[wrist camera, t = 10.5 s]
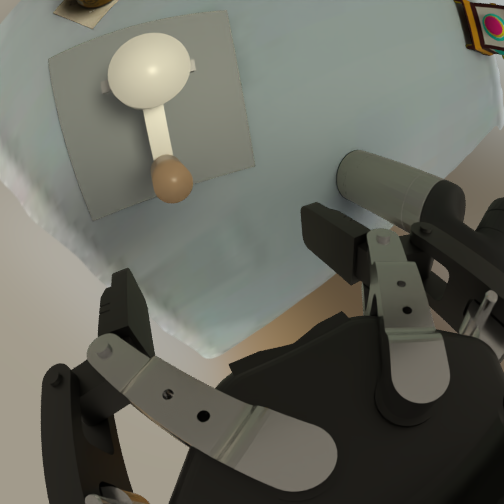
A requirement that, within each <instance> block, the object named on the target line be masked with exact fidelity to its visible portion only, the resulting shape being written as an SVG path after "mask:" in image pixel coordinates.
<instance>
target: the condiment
mask: <svg viewBox="0 0 504 504" xmlns="http://www.w3.org/2000/svg"><path fill="white" fill-rule="evenodd" d="M117 1H118V0H64V1H63V2H62V3H61V4H60V5H59V6H58V7H57V9H56V10H55V11H54V12H53V13H54V14H57V15H59V16H62V17H64V18H67V19H69V20H72V21H74V22H77V23H80V24H82V25H84V26H87V27H89V28H91V29H93V28H94V26H95V25H96V24H97V23H98V22H99V21H100V19H101V18H102V17H103V16H104V15H105V14H106V13H107V11H108V10H109V9H110V8H111V7H112V6H113V5H114V4H115V3H116V2H117ZM93 10H94V11H93ZM90 11H92V12H90Z"/></svg>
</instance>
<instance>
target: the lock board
mask: <svg viewBox="0 0 504 504" xmlns="http://www.w3.org/2000/svg"><path fill="white" fill-rule="evenodd" d="M146 33H163V34H167V35H170V36H172V37H174V38H176V39H177V40H178V41H180V42H181V43H182V44H183V46H184V47H185V48H186V50H187V52H188V54H189V57H190V60H193V59H194V60H195V67H196V71H194V72H192V73H190V74H189V77H188V80H187V82H186V84H185V85H184V87H183V88H182V90H181V91H180V92H179V93H178V94H177V95H176V96H175V97H173V98H172V99H171V100H169V101H168V102H166V103H164V104H163V105H164V111H165V116H166V121H167V127H168V132H169V137H170V142H171V147H172V152H173V156H175V157H176V158H178V159H179V161H180V162H181V163H182V164H183V165H184V166H185V167H186V168H187V169H188V170H189V172H190V173H191V175H192V178H193V184H196V183H199V182H202V181H206V180H209V179H212V178H216V177H219V176H222V175H226V174H229V173H233V172H236V171H240V170H244V169H247V168H251V167H255V161H254V155H253V149H252V143H251V138H250V132H249V126H248V120H247V115H246V109H245V103H244V98H243V92H242V87H241V81H240V76H239V70H238V65H237V60H236V54H235V49H234V44H233V39H232V34H231V28H230V23H229V18H228V13H227V10H224V11H212V12H202V13H194V14H187V15H181V16H175V17H170V18H164V19H160V20H155V21H151V22H146V23H142V24H138V25H135V26H131V27H128V28H124V29H121V30H118V31H114V32H111V33H108V34H105V35H103V36H100V37H97V38H94V39H92V40H89V41H87V42H84V43H82V44H79V45H77V46H74V47H72V48H70V49H68V50H65V51H63V52H61V53H59V54H57V55H55V56H53V57H51V58H49V59H48V62H49V70H50V76H51V82H52V88H53V93H54V98H55V103H56V107H57V112H58V116H59V120H60V124H61V128H62V132H63V136H64V139H65V143H66V146H67V150H68V153H69V156H70V160H71V163H72V166H73V169H74V172H75V175H76V178H77V181H78V183H79V186H80V189H81V192H82V194H83V197H84V200H85V202H86V205H87V207H88V210H89V212H90V215H91V217H92V220H93V221H95V220H98V219H100V218H102V217H105V216H107V215H110V214H112V213H115V212H117V211H120V210H122V209H125V208H127V207H130V206H133V205H135V204H138V203H141V202H143V201H146V200H149V199H152V198H154V197H157V195H156V194H155V191H154V187H153V182H152V177H151V171H150V170H151V166H152V163H153V162H154V160H153V156H152V152H151V147H150V143H149V138H148V133H147V128H146V123H145V118H144V113H143V110H139V109H134V108H131V107H129V106H127V105H125V104H124V103H122V102H121V101H120V100H119V99H118V98H117V97H116V96H115V95H114V94H113V92H110V93H107V94H102V88H101V82H102V81H105V80H108V68H109V64H110V62H111V59H112V57H113V55H114V54H115V53H116V51H117V50H118V49H119V48H120V47H121V46H122V45H123V44H124V43H126V42H127V41H128V40H130V39H132V38H134V37H136V36H139V35H142V34H146Z"/></svg>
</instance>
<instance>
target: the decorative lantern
mask: <svg viewBox="0 0 504 504" xmlns="http://www.w3.org/2000/svg"><path fill="white" fill-rule="evenodd" d="M454 2H456V3H461V4H462V6H463V9H464V12H465V15H466V19H467V23H468V26H469V30H470V35H471V39H472V44H471V45H466V47H467V48H468V49H472V50H476V51H479V52H481V53H482V54H484V55H488V56H490V55H493V54H500V55H502V57H503V59H504V6H501V5H496V4H494V3H490V4H484V3H483V4H482V3H472V2H469V1H467V0H454Z"/></svg>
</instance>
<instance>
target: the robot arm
mask: <svg viewBox="0 0 504 504" xmlns="http://www.w3.org/2000/svg"><path fill="white" fill-rule="evenodd" d="M337 186H338V189H339V191H340V193H341V195H342V196H343V197H344V198H346V199H348V200H350V201H352V202H354V203H356V204H358V205H359V206H361V207H363V208H365V209H367V210H369V211H370V212H372V213H374V214H376V215H378V216H380V217H381V218H383V219H385V220H387V221H389V222H390V223H392V224H394V225H396V226H397V227H399V228H401V229H403V230H404V231H406V232H408V233H409V235H403V236H398V235H397V234H396V233H395V232H393V231H391V230H388V229H383V228H378V229H373V230H370V229H368V228H367V227H365V226H363V225H362V224H360V223H358V222H357V221H355V220H353V219H352V218H350V217H347V216H346V215H345V214H343V213H341V212H340V211H336V210H333V209H329V208H327V207H325V206H323V205H322V204H320V203H318V202H315V203H312V204H309V205H306V206H303V207H302V208H301V222H302V235H303V240H304V243H305V245H306V246H307V248H308V249H309V250H311V251H312V252H313V253H314V254H315V255H316V256H318V257H319V258H320V259H321V260H322V261H323V262H325V263H326V264H327V265H328V266H329V267H330V268H332V269H333V270H334V271H335V272H336V273H337V274H339V275H340V276H341V277H342V278H343V279H344V280H345V281H347V282H348V283H349V284H350V285H353V284H355V283H357V282H358V281H362V300H363V316H356V317H351V318H348V317H347V316H346V315H345V314H344V313H343V312H342V311H341V312H340V313H338V314H336V315H334V316H332V317H330V318H328V319H326V320H324V321H322V322H320V323H318V324H317V325H316V326H314V327H313V328H312V329H311V330H310V331H308V332H307V333H306V334H305V335H304V336H302V337H301V338H300V339H299V340H298V341H296V342H295V343H293V344H290V345H286V346H282V347H278V348H273V349H268V350H264V351H259V352H257V353H254V354H252V355H249V356H247V357H245V358H243V359H240V360H238V361H235V362H233V363H230V364H229V366H230V369H231V371H232V373H231V374H230V375H228V376H227V377H226V378H225V379H223V380H222V381H221V382H220V383H219V385H218V386H217V387H216V388H213V387H211V386H209V385H207V384H205V383H203V382H201V381H199V380H197V379H195V378H194V377H192V376H190V375H188V374H186V373H184V372H183V371H181V370H179V369H177V368H176V367H174V366H172V365H171V364H169V363H167V362H165V361H164V360H162V359H161V358H159V357H157V356H155V352H154V346H153V340H152V334H151V328H150V321H149V314H148V307H147V304H146V301H145V298H144V296H143V294H142V292H141V290H140V288H139V286H138V284H137V282H136V280H135V278H134V276H133V274H132V272H131V271H130V269H129V268H126V269H123V270H120V271H118V272H115V273H113V274H112V283H111V287H109V288H106V289H105V291H104V293H103V295H102V296H101V301H100V311H99V314H100V315H99V324H98V338H96V339H95V340H94V341H93V342H92V343H91V344H90V346H89V348H88V351H87V360H86V361H84V362H83V363H81V364H80V365H78V366H77V367H75V368H74V369H72V370H71V369H70V368H69V367H68V366H67V365H65V364H56V365H54V366H52V367H51V368H50V369H49V370H48V371H47V372H46V374H45V376H44V378H43V382H42V395H41V442H42V456H43V467H44V475H45V482H46V488H47V494H48V499H49V504H150V503H149V502H148V501H147V500H146V499H145V498H144V497H142V496H140V495H138V494H136V493H133V490H132V487H131V484H130V481H129V478H128V474H127V471H126V467H125V464H124V460H123V456H122V452H121V448H120V443H119V439H118V434H117V429H116V424H115V419H114V413H116V412H117V411H119V410H120V409H122V408H124V407H125V406H127V405H128V404H132V405H133V406H134V407H135V408H136V409H137V410H139V411H140V412H141V413H142V414H144V415H145V416H146V417H148V418H149V419H150V420H151V421H153V422H154V423H155V424H157V425H158V426H160V427H161V428H162V429H163V430H165V431H166V432H167V433H169V434H170V435H172V436H173V437H174V438H176V439H177V440H179V441H180V442H182V443H183V444H185V445H186V446H188V447H189V451H188V454H187V456H186V459H185V462H184V464H183V467H182V470H181V472H180V475H179V477H178V480H177V483H176V485H175V488H174V491H173V493H172V496H171V498H170V501H169V504H504V372H503V370H502V368H501V365H500V363H501V362H502V360H503V359H504V197H503V198H498V199H496V200H494V201H493V202H492V204H491V205H490V206H489V208H488V210H487V211H486V213H485V215H484V217H483V218H482V220H481V222H480V224H479V226H478V227H477V229H476V230H475V231H474V230H473V229H471V228H470V227H468V226H467V225H466V224H464V223H463V220H464V215H465V206H466V205H465V195H464V192H463V190H462V189H461V188H460V187H459V186H458V185H456V184H454V183H452V182H449V181H447V180H445V179H442V178H440V177H437V176H435V175H432V174H430V173H427V172H424V171H422V170H419V169H417V168H414V167H411V166H408V165H406V164H403V163H400V162H397V161H394V160H391V159H388V158H385V157H382V156H379V155H376V154H372V153H369V152H366V151H362V150H355V151H353V152H350V153H349V154H348V155H347V156H346V157H345V158H344V159H343V160H342V162H341V164H340V166H339V169H338V173H337ZM434 259H435V260H436V261H438V262H439V263H440V264H442V265H443V266H444V267H446V269H447V270H448V272H449V281H448V283H446V282H445V281H443V280H442V279H441V278H440V277H439V276H437V275H436V274H435V273H433V272H432V271H431V268H432V265H433V261H434ZM429 306H430V307H431V308H432V309H433V310H434V311H435V312H436V313H437V314H438V315H440V316H441V317H442V318H443V319H444V320H445V321H446V322H447V323H448V324H449V325H450V326H451V327H452V328H453V329H454V330H455V331H456V332H457V333H458V334H457V333H452V332H447V331H442V330H437V329H435V326H434V322H433V318H432V314H431V311H430V307H429Z"/></svg>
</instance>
